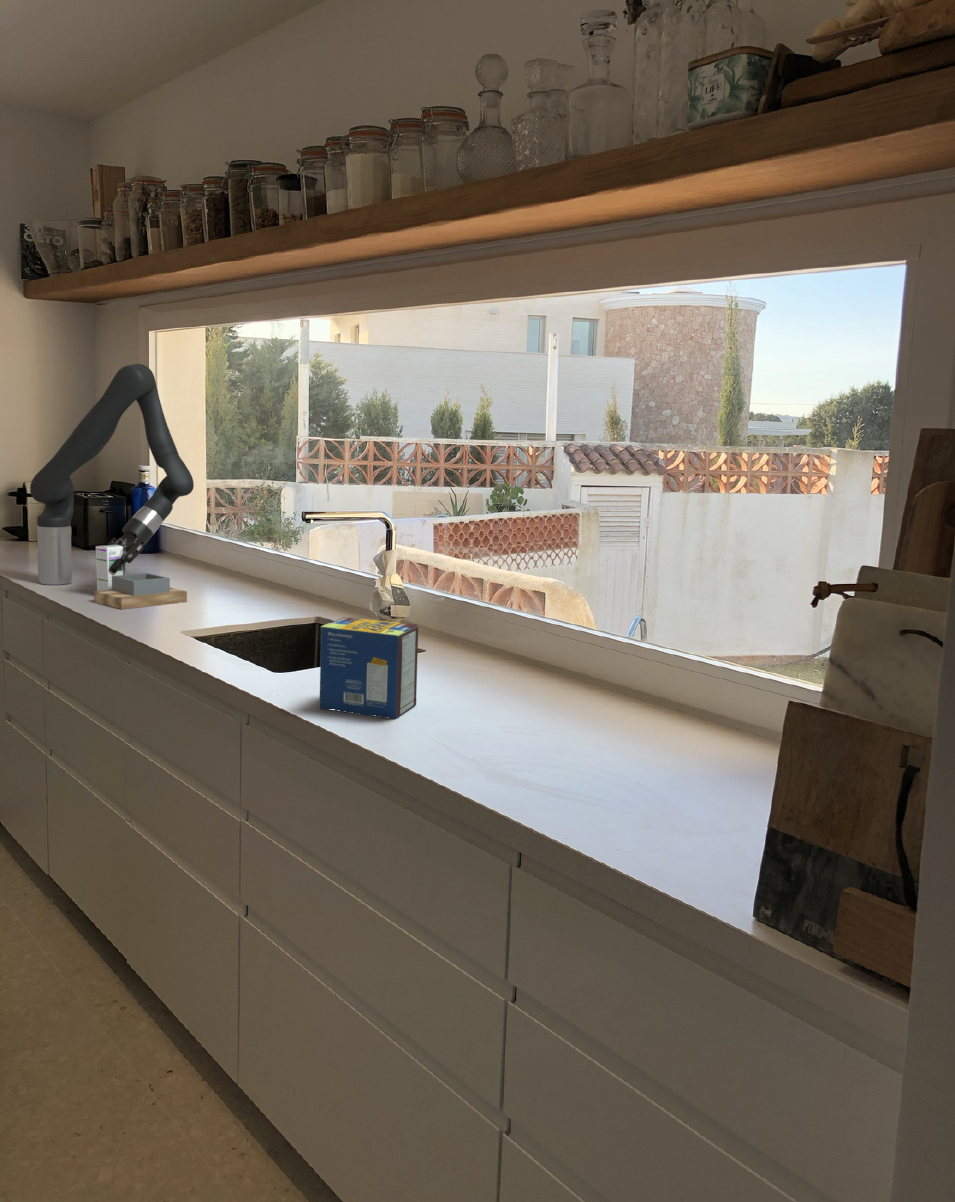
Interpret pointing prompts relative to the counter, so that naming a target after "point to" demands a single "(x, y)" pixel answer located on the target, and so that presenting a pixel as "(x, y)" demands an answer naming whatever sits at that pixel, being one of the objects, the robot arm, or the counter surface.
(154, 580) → the grey square frame
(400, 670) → the protein box
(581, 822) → the counter surface
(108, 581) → the syrup box
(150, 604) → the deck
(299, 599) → the counter surface
